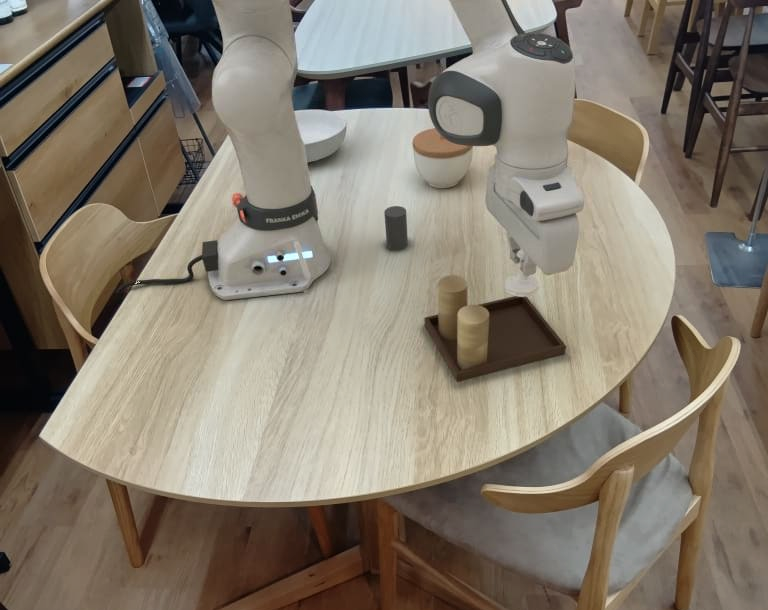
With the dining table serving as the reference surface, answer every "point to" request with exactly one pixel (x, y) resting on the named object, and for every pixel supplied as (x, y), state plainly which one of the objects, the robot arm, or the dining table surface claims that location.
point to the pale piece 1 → (450, 304)
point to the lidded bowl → (440, 159)
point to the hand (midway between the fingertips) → (522, 266)
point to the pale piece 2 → (472, 336)
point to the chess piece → (521, 282)
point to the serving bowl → (320, 132)
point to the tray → (504, 338)
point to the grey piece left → (396, 227)
